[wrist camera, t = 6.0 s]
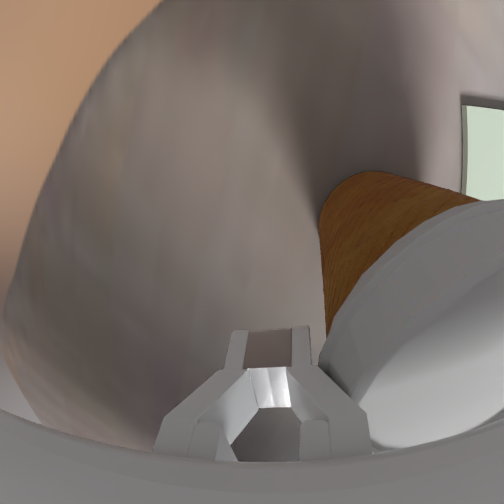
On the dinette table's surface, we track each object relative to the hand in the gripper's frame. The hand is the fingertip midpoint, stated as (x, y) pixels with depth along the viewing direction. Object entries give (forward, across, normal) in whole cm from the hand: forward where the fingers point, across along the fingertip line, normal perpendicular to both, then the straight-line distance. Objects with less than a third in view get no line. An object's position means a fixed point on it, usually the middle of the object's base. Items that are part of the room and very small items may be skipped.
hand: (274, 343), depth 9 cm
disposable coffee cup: (+10, +5, -1) cm, 11 cm away
